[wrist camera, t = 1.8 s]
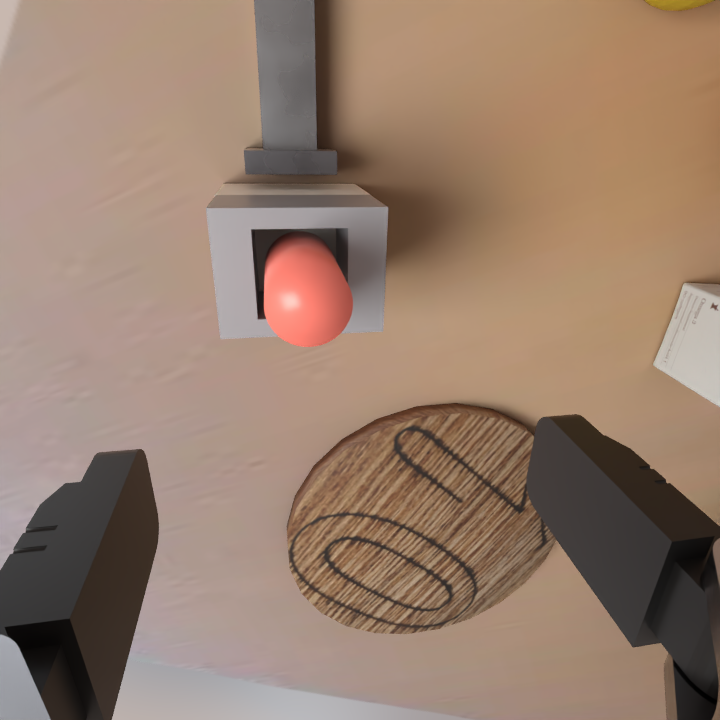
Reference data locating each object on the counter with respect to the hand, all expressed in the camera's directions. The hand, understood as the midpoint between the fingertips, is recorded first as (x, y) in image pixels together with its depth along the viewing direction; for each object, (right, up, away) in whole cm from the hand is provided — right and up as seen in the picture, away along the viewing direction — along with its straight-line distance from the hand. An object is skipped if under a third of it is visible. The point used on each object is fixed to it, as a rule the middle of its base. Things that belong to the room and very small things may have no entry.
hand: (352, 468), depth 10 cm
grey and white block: (-4, +10, +22) cm, 24 cm away
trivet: (+6, -12, +35) cm, 38 cm away
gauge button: (-3, +7, +14) cm, 16 cm away
